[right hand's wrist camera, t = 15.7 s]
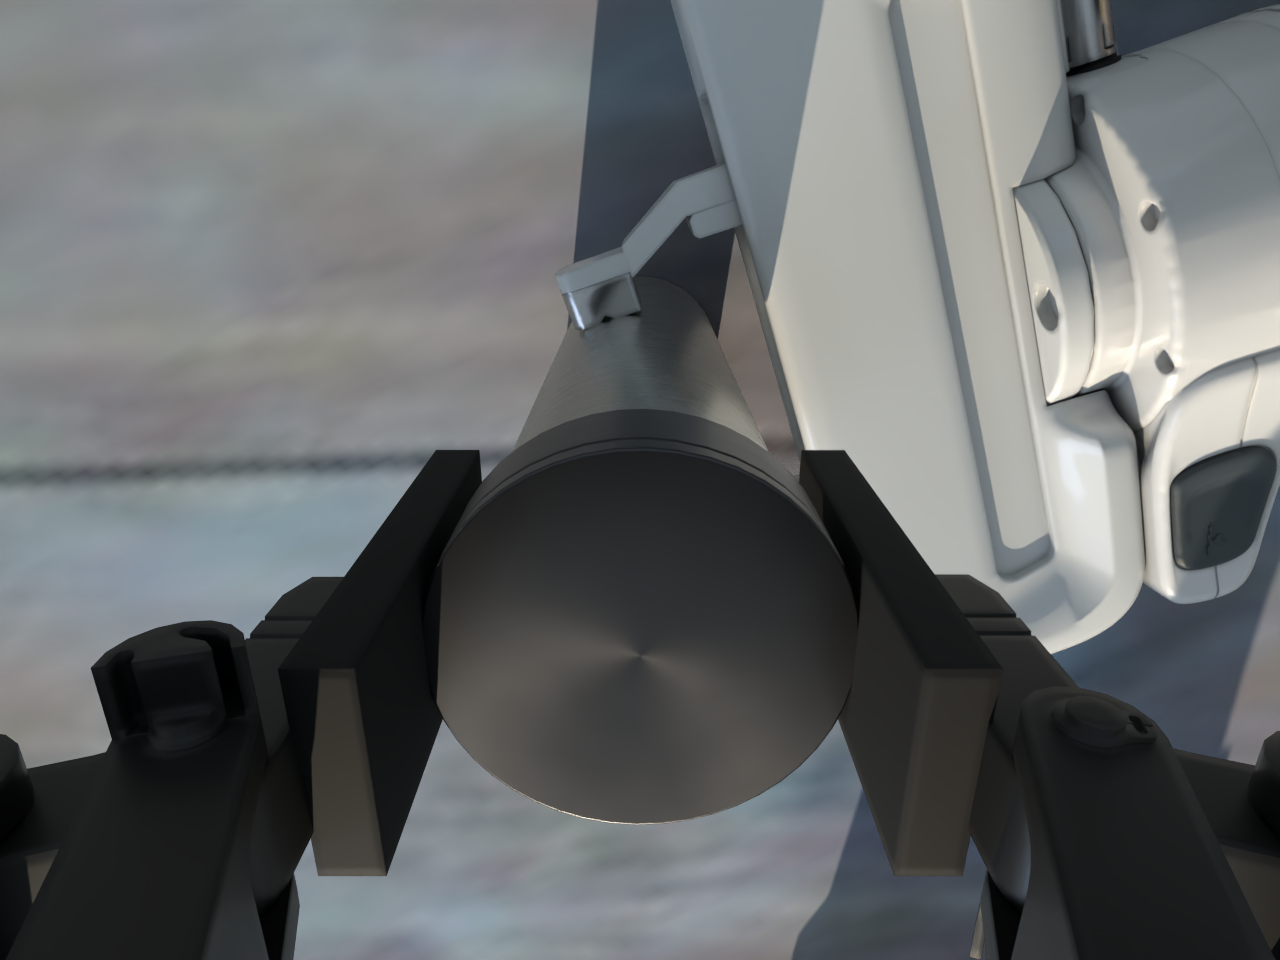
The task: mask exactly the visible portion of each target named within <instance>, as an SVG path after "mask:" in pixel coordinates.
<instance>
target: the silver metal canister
mask: <svg viewBox="0 0 1280 960" xmlns="http://www.w3.org/2000/svg"><path fill="white" fill-rule="evenodd" d="M634 278H635V281H636V285H637V288H638V291H639V294H640V297H641V310H640V311H637V312H634V313H631V314H628V315H625V316H621V317H616V318H612V317H609V316H605V317H604V318H603V320H602V321H601V322H600V323H598V324H596V325H594V326H592V327H590V328H587V329H582V330H575V327H574V325H573V322H572V321H571V323H570V326H569V328H568V330H567V332H566V335H565V337H564V339H563V341H562V343H561V346H560V348H559V350H558V352H557V354H556V357H555V359H554V361H553V363H552V365H551V368H550V370H549V372H548V374H547V376H546V379H545V381H544V383H543V385H542V387H541V390H540V392H539V394H538V396H537V398H536V401H535V403H534V405H533V407H532V409H531V412H530V414H529V416H528V418H527V420H526V423H525V425H524V427H523V429H522V432H521V434H520V436H519V438H518V440H517V443H516V445H515V447H514V449H513V451H514V450H516V449H517V448H518V447H519V446H521V445H523V444H524V443H526V442H527V441H529V440H531V439H532V438H534V437H536V436H537V435H539V434H540V433H542V432H544V431H547V430H549V429H551V428H553V427H556V426H558V425H560V424H562V423H565V422H567V421H571V420H574V419H577V418H581V417H584V416H587V415H591V414H596V413H602V412H608V411H614V410H625V409H655V410H666V411H675V412H680V413H684V414H689V415H693V416H698V417H701V418H704V419H707V420H710V421H713V422H715V423H718V424H721V425H724V426H726V427H728V428H730V429H732V430H734V431H736V432H738V433H740V434H742V435H744V436H746V437H748V438H749V439H751V440H752V441H754V442H755V443H756V444H758V445H759V446H761V447H762V448H764V449H765V450H767V448H766V445H765V443H764V441H763V439H762V437H761V434H760V432H759V430H758V428H757V426H756V423H755V421H754V419H753V417H752V415H751V412H750V410H749V408H748V406H747V404H746V401H745V399H744V397H743V395H742V393H741V390H740V388H739V386H738V384H737V382H736V379H735V377H734V375H733V373H732V370H731V368H730V366H729V364H728V362H727V359H726V357H725V355H724V353H723V351H722V348H721V346H720V344H719V342H718V340H717V337H716V335H715V333H714V331H713V329H712V326H711V324H710V322H709V320H708V318H707V315H706V314H705V312H704V311H703V309H702V307H701V306H700V305H699V304H698V303H697V301H696V300H695V299H694V298H693V297H692V296H691V295H690V294H688V293H687V292H686V291H684V290H683V289H682V288H680V287H678V286H676V285H675V284H673V283H671V282H668V281H665V280H662V279H659V278H654V277H646V276H635V277H634ZM513 451H512V452H513ZM767 451H768V450H767Z"/></svg>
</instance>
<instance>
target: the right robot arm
mask: <svg viewBox="0 0 1280 960" xmlns="http://www.w3.org/2000/svg"><path fill="white" fill-rule="evenodd" d="M481 483H482V478H481V465H480V453H479V450H436V451H435V452H434V454H433V455H432V457H431V458H430V459H429V461H428V462H427V463H426V465H425V466H424V468H423V469H422V470H421V472H420V473H419V475H418V476H417V477H416V479H415V480H414V481H413V483H412V484H411V486H410V487H409V488H408V490H407V491H406V492H405V494H404V495H403V497H402V498H401V499H400V501H399V502H398V503H397V505H396V506H395V508H394V509H393V510H392V512H391V513H390V515H389V516H388V517H387V519H386V520H385V521H384V523H383V524H382V526H381V527H380V528H379V530H378V531H377V532H376V534H375V535H374V537H373V538H372V539H371V541H370V542H369V544H368V545H367V546H366V548H365V549H364V550H363V552H362V553H361V555H360V556H359V557H358V559H357V560H356V561H355V563H354V564H353V566H352V567H351V568H350V570H349V571H348V572H347V574H346V575H345V577H312V578H310V579H308V580H307V581H305V582H303V583H302V584H300V585H299V586H297V587H295V588H294V589H292V590H290V591H289V592H287V593H285V594H284V595H282V597H281V598H280V599H279V600H278V601H277V603H276V604H275V605H274V606H273V607H272V609H271V610H270V611H269V612H268V613H267V615H266V616H265V621H261V622H260V623H259V624H258V625H257V627H256V628H255V629H254V630H253V631H252V632H251V634H250V639H246V640H244V635H243V633H242V632H241V631H240V630H238V629H237V628H235V627H234V626H233V625H231V624H227V623H222V622H216V621H211V620H210V621H189V622H181V623H177V624H172V625H168V626H163V627H158V628H155V629H152V630H150V631H147V632H145V633H142V634H139V635H137V636H134V637H131V638H129V639H127V640H125V641H124V642H122V643H121V644H119V645H117V646H116V647H114V648H112V649H111V650H109V651H107V652H106V653H105V654H104V655H103V656H102V657H101V658H100V659H99V660H98V661H97V662H96V663H95V664H94V665H93V666H92V667H91V670H92V674H93V677H94V680H95V684H96V687H97V691H98V694H99V697H100V701H101V704H102V707H103V711H104V714H105V717H106V721H107V724H108V727H109V731H110V734H111V737H112V741H111V743H110V745H109V747H108V749H107V751H106V752H105V753H101V754H97V755H93V756H88V757H83V758H79V759H74V760H69V761H64V762H59V763H54V764H49V765H44V766H39V767H34V768H29V769H27V768H26V765H25V762H24V760H23V757H22V754H21V751H20V748H19V745H18V744H17V743H16V742H15V741H13V740H12V739H11V738H9V737H8V736H6V735H3V734H0V960H293V957H294V949H295V941H296V932H297V924H298V916H299V907H300V905H299V898H298V891H297V886H296V881H295V876H294V871H295V869H296V867H297V865H298V863H299V861H300V859H301V857H302V855H303V853H304V851H305V849H306V846H307V844H308V842H309V840H310V838H311V841H312V846H313V852H314V857H315V862H316V867H317V872H318V876H387V873H388V870H389V867H390V865H391V862H392V859H393V856H394V853H395V851H396V848H397V845H398V842H399V839H400V837H401V834H402V831H403V828H404V825H405V823H406V820H407V817H408V814H409V812H410V809H411V806H412V803H413V800H414V798H415V795H416V792H417V789H418V786H419V784H420V781H421V778H422V775H423V772H424V770H425V767H426V764H427V761H428V759H429V756H430V753H431V750H432V747H433V745H434V742H435V739H436V736H437V733H438V731H439V728H440V725H441V722H442V719H443V718H442V716H441V714H440V712H439V710H438V708H437V706H436V704H435V702H434V700H433V698H432V694H431V691H430V687H429V680H428V672H427V663H426V655H425V646H424V637H423V628H422V611H423V604H424V598H425V595H426V592H427V589H428V585H429V582H430V579H431V576H432V573H433V571H434V569H435V567H436V565H437V563H438V561H439V559H440V557H441V555H442V553H443V551H444V549H445V547H446V545H447V543H448V541H449V539H450V537H451V535H452V533H453V531H454V529H455V528H456V526H457V524H458V522H459V520H460V518H461V516H462V514H463V512H464V510H465V508H466V506H467V504H468V502H469V501H470V499H471V498H472V496H473V495H474V493H475V492H476V490H477V489H478V487H479V486H480V485H481ZM799 484H800V485H801V486H802V487H803V488H804V490H805V492H806V493H807V495H808V497H809V498H810V500H811V502H812V503H813V505H814V507H815V508H816V510H817V512H818V514H819V516H820V518H821V520H822V522H823V524H824V526H825V527H826V529H827V531H828V533H829V535H830V537H831V539H832V541H833V543H834V545H835V547H836V549H837V551H838V553H839V555H840V557H841V559H842V560H843V563H844V565H845V568H846V570H847V573H848V575H849V577H850V580H851V582H852V585H853V589H854V593H855V597H856V601H857V605H858V609H859V627H858V637H857V646H856V655H855V663H854V672H853V680H852V687H851V691H850V694H849V696H848V699H847V701H846V704H845V707H844V709H843V710H842V712H841V714H840V716H839V717H838V720H839V723H840V726H841V728H842V731H843V734H844V737H845V740H846V742H847V745H848V748H849V751H850V754H851V756H852V759H853V762H854V765H855V767H856V770H857V773H858V776H859V779H860V781H861V784H862V787H863V790H864V793H865V795H866V798H867V801H868V804H869V807H870V809H871V812H872V815H873V818H874V820H875V823H876V826H877V829H878V832H879V834H880V837H881V840H882V843H883V846H884V848H885V851H886V854H887V857H888V860H889V862H890V865H891V868H892V871H893V873H894V876H963V871H964V866H965V861H966V856H967V851H968V846H969V840H970V835H971V837H972V839H973V841H974V843H975V845H976V847H977V849H978V851H979V853H980V855H981V857H982V859H983V861H984V863H985V865H986V867H987V871H986V876H985V881H984V886H983V890H982V895H981V900H980V904H979V909H978V914H977V919H976V923H975V928H974V933H973V938H972V944H971V950H970V957H972V958H976V959H981V955H982V951H983V946H984V942H985V947H986V955H987V960H1280V731H1277V732H1275V733H1274V734H1273V735H1271V736H1270V737H1268V738H1267V739H1266V740H1264V743H1263V746H1262V748H1261V751H1260V754H1259V757H1258V760H1257V763H1256V766H1254V765H1249V764H1244V763H1239V762H1234V761H1230V760H1225V759H1220V758H1215V757H1210V756H1205V755H1200V754H1195V753H1190V752H1186V751H1182V750H1178V749H1174V748H1172V746H1171V744H1170V742H1169V739H1168V738H1167V737H1166V735H1165V734H1164V733H1163V732H1162V730H1161V729H1160V728H1159V727H1158V725H1157V724H1156V723H1155V722H1154V721H1153V720H1152V719H1150V718H1149V717H1147V716H1146V715H1145V714H1143V713H1142V712H1140V711H1139V710H1137V709H1136V708H1135V707H1133V706H1131V705H1129V704H1127V703H1124V702H1122V701H1120V700H1118V699H1115V698H1113V697H1111V696H1109V695H1107V694H1103V693H1099V692H1095V691H1091V690H1087V689H1083V688H1079V687H1078V686H1077V685H1076V684H1075V682H1074V681H1073V680H1072V679H1071V678H1070V676H1069V675H1068V674H1067V673H1066V672H1065V671H1064V669H1063V668H1062V667H1061V666H1060V665H1059V663H1058V662H1057V661H1056V660H1055V659H1054V658H1053V656H1052V655H1051V654H1050V653H1049V652H1048V650H1047V649H1046V648H1045V647H1044V646H1043V645H1042V643H1041V642H1040V641H1039V640H1038V639H1037V637H1036V636H1032V635H1031V630H1030V629H1029V628H1028V627H1027V626H1026V624H1025V623H1024V622H1023V621H1022V620H1021V618H1017V617H1016V613H1015V611H1014V610H1013V609H1012V608H1011V607H1010V605H1009V604H1008V603H1007V602H1006V601H1005V600H1004V598H1003V597H1002V596H1001V595H1000V594H999V592H997V591H995V590H994V589H992V588H990V587H989V586H987V585H985V584H984V583H982V582H980V581H979V580H977V579H975V578H974V577H972V576H971V575H969V574H934V573H933V571H932V570H931V569H930V567H929V566H928V564H927V563H926V562H925V560H924V559H923V557H922V556H921V555H920V553H919V552H918V551H917V549H916V548H915V546H914V545H913V544H912V542H911V541H910V540H909V538H908V537H907V535H906V534H905V533H904V531H903V530H902V529H901V527H900V526H899V524H898V523H897V522H896V520H895V519H894V517H893V516H892V515H891V513H890V512H889V511H888V509H887V508H886V506H885V505H884V504H883V502H882V501H881V500H880V498H879V497H878V495H877V494H876V493H875V491H874V490H873V489H872V487H871V486H870V484H869V483H868V482H867V480H866V479H865V477H864V476H863V475H862V473H861V472H860V471H859V469H858V468H857V466H856V465H855V464H854V462H853V461H852V460H851V458H850V457H849V455H848V454H847V453H846V451H845V450H801V463H800V476H799Z"/></svg>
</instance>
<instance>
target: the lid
mask: <svg viewBox="0 0 1280 960" xmlns="http://www.w3.org/2000/svg"><path fill="white" fill-rule="evenodd" d="M858 627H859V609H858V605H857V601H856V597H855V593H854V589H853V585H852V582H851V580H850V577H849V575H848V573H847V570H846V568H845V565H844V563H843V560H842V559H841V557H840V555H839V553H838V551H837V549H836V547H835V545H834V543H833V541H832V539H831V537H830V535H829V533H828V531H827V529H826V527H825V526H824V524H823V522H822V520H821V518H820V516H819V514H818V512H817V510H816V508H815V507H814V505H813V503H812V502H811V500H810V498H809V497H808V495H807V493H806V492H805V490H804V488H803V487H802V486H801V485H800V484H799V482H798V481H797V480H796V479H795V477H794V476H793V475H792V474H791V472H790V471H789V470H788V469H787V468H786V467H785V466H784V465H783V464H781V463H780V462H779V461H778V460H777V459H776V458H775V457H774V456H773V455H772V454H771V453H769V452H768V451H767V450H765V449H764V448H762V447H761V446H759V445H758V444H756V443H755V442H754V441H752V440H751V439H749V438H748V437H746V436H744V435H742V434H740V433H738V432H736V431H734V430H732V429H730V428H728V427H726V426H724V425H721V424H718V423H715V422H713V421H710V420H707V419H704V418H701V417H698V416H693V415H689V414H684V413H680V412H675V411H666V410H655V409H625V410H614V411H608V412H602V413H596V414H591V415H587V416H584V417H581V418H577V419H574V420H571V421H567V422H565V423H562V424H560V425H558V426H556V427H553V428H551V429H549V430H547V431H544V432H542V433H540V434H539V435H537V436H536V437H534V438H532V439H531V440H529V441H527V442H526V443H524V444H523V445H521V446H519V447H518V448H517V449H516V450H514V451H513V452H512V453H511V454H510V455H508V456H507V457H506V458H505V459H504V460H502V461H501V462H500V463H499V464H498V465H497V466H496V467H495V468H494V469H493V471H492V472H491V473H490V474H489V475H488V476H487V477H486V478H485V479H484V480H483V482H482V483H481V485H480V486H479V487H478V489H477V490H476V492H475V493H474V495H473V496H472V498H471V499H470V501H469V502H468V504H467V506H466V508H465V510H464V512H463V514H462V516H461V518H460V520H459V522H458V524H457V526H456V528H455V529H454V531H453V533H452V535H451V537H450V539H449V541H448V543H447V545H446V547H445V549H444V551H443V553H442V555H441V557H440V559H439V561H438V563H437V565H436V567H435V569H434V571H433V573H432V576H431V579H430V582H429V585H428V589H427V592H426V595H425V598H424V604H423V611H422V628H423V637H424V646H425V655H426V663H427V672H428V680H429V687H430V691H431V694H432V698H433V700H434V702H435V704H436V706H437V708H438V710H439V712H440V714H441V716H442V718H443V720H444V722H445V723H446V725H447V726H448V727H449V729H450V730H451V732H452V733H453V735H454V736H455V738H456V739H457V741H458V742H459V743H460V744H461V745H462V746H463V748H464V749H465V750H466V751H467V752H468V753H469V754H470V756H471V757H472V758H473V759H474V760H475V761H476V762H478V763H479V764H480V765H481V766H482V767H483V768H484V769H486V770H487V771H488V772H489V773H490V774H491V775H492V776H494V777H495V778H497V779H498V780H500V781H501V782H502V783H504V784H505V785H507V786H508V787H510V788H511V789H513V790H514V791H516V792H518V793H520V794H522V795H524V796H526V797H527V798H529V799H531V800H533V801H535V802H537V803H540V804H542V805H545V806H547V807H550V808H552V809H555V810H557V811H560V812H564V813H567V814H571V815H574V816H578V817H581V818H585V819H591V820H597V821H602V822H608V823H620V824H634V825H637V824H663V823H671V822H679V821H686V820H691V819H695V818H699V817H703V816H708V815H712V814H715V813H717V812H720V811H723V810H726V809H729V808H732V807H735V806H737V805H739V804H741V803H743V802H745V801H748V800H750V799H752V798H754V797H756V796H758V795H760V794H761V793H763V792H765V791H766V790H768V789H769V788H771V787H773V786H774V785H776V784H777V783H779V782H781V781H782V780H783V779H784V778H786V777H787V776H788V775H789V774H791V773H792V772H793V771H794V770H796V769H797V768H798V767H799V766H801V765H802V764H803V762H804V761H805V760H806V759H807V758H808V757H809V756H810V755H811V754H812V753H813V752H814V751H815V750H816V749H817V748H818V747H819V746H820V744H821V743H822V742H823V740H824V739H825V738H826V736H827V735H828V734H829V732H830V731H831V730H832V728H833V726H834V725H835V723H836V721H837V719H838V717H839V716H840V714H841V712H842V710H843V709H844V707H845V704H846V701H847V699H848V696H849V694H850V691H851V687H852V680H853V672H854V663H855V655H856V646H857V637H858Z"/></svg>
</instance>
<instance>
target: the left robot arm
mask: <svg viewBox="0 0 1280 960" xmlns="http://www.w3.org/2000/svg"><path fill="white" fill-rule="evenodd" d="M670 1H671V5H672V8H673V12H674V16H675V19H676V23H677V26H678V30H679V34H680V37H681V41H682V44H683V48H684V51H685V55H686V58H687V62H688V66H689V69H690V73H691V76H692V80H693V83H694V87H695V90H696V94H697V98H698V101H699V105H700V108H701V112H702V115H703V119H704V123H705V126H706V130H707V133H708V137H709V140H710V144H711V147H712V151H713V155H714V158H715V162H716V166H713V167H710V168H707V169H705V170H702V171H699V172H696V173H694V174H691V175H688V176H686V177H683V178H680V179H677V180H675V181H673V182H672V183H671V184H670V185H669V187H668V188H667V189H666V190H665V191H664V192H663V194H662V195H661V196H660V197H659V198H658V200H657V201H656V202H655V203H654V204H653V206H652V207H651V208H650V209H649V210H648V212H647V213H646V214H645V215H644V216H643V217H642V219H641V220H640V221H639V222H638V223H637V225H636V226H635V227H634V228H633V229H632V231H631V232H630V233H629V234H628V235H627V236H626V238H625V239H624V240H623V243H622V246H621V247H619V248H616V249H613V250H610V251H607V252H604V253H602V254H599V255H596V256H593V257H590V258H587V259H584V260H582V261H579V262H576V263H573V264H571V265H569V266H567V267H564V268H562V269H560V270H558V272H557V273H556V274H555V277H556V280H557V283H558V286H559V288H560V291H561V293H562V296H563V299H564V301H565V304H566V306H567V309H568V312H569V314H570V317H571V319H572V322H573V325H574V327H575V330H582V329H587V328H590V327H592V326H594V325H596V324H598V323H600V322H601V321H602V320H603V318H604V317H605V316H609V317H612V318H616V317H621V316H625V315H628V314H631V313H634V312H637V311H640V310H641V297H640V294H639V291H638V288H637V285H636V281H635V278H634V276H635V275H636V274H637V273H638V271H639V270H640V269H641V268H642V267H643V266H644V265H645V263H646V262H647V261H648V260H649V259H650V258H651V257H652V255H653V254H654V253H655V252H656V251H657V250H658V248H659V247H660V246H661V245H662V244H663V243H664V242H665V240H666V239H667V238H668V237H669V236H670V235H671V234H672V232H673V231H674V230H675V229H676V228H677V227H678V225H679V224H680V223H681V222H682V221H683V220H684V219H685V217H686V221H687V224H688V228H689V230H690V231H691V232H692V234H693V235H694V236H696V237H698V238H700V239H701V238H704V237H707V236H710V235H713V234H716V233H719V232H722V231H725V230H728V229H731V228H734V229H735V233H736V236H737V240H738V244H739V247H740V251H741V254H742V258H743V261H744V265H745V268H746V272H747V276H748V279H749V283H750V286H751V290H752V293H753V297H754V300H755V304H756V308H757V311H758V315H759V318H760V322H761V325H762V329H763V333H764V336H765V340H766V343H767V347H768V350H769V354H770V357H771V361H772V365H773V368H774V372H775V375H776V379H777V382H778V386H779V389H780V393H781V397H782V400H783V404H784V407H785V411H786V414H787V418H788V422H789V425H790V429H791V432H792V436H793V439H794V443H795V446H796V450H797V454H798V457H799V461H800V463H801V450H845V451H846V453H847V454H848V455H849V457H850V458H851V460H852V461H853V462H854V464H855V465H856V466H857V468H858V469H859V471H860V472H861V473H862V475H863V476H864V477H865V479H866V480H867V482H868V483H869V484H870V486H871V487H872V489H873V490H874V491H875V493H876V494H877V495H878V497H879V498H880V500H881V501H882V502H883V504H884V505H885V506H886V508H887V509H888V511H889V512H890V513H891V515H892V516H893V517H894V519H895V520H896V522H897V523H898V524H899V526H900V527H901V529H902V530H903V531H904V533H905V534H906V535H907V537H908V538H909V540H910V541H911V542H912V544H913V545H914V546H915V548H916V549H917V551H918V552H919V553H920V555H921V556H922V557H923V559H924V560H925V562H926V563H927V564H928V566H929V567H930V569H931V570H932V571H933V573H934V574H969V575H971V576H972V577H974V578H975V579H977V580H979V581H980V582H982V583H984V584H985V585H987V586H989V587H990V588H992V589H994V590H995V591H997V592H999V594H1000V595H1001V596H1002V597H1003V598H1004V600H1005V601H1006V602H1007V603H1008V604H1009V605H1010V607H1011V608H1012V609H1013V610H1014V611H1015V613H1016V617H1017V618H1021V620H1022V621H1023V622H1024V623H1025V624H1026V626H1027V627H1028V628H1029V629H1030V630H1031V635H1032V636H1036V637H1037V639H1038V640H1039V641H1040V642H1041V643H1042V645H1043V646H1044V647H1045V648H1046V649H1047V650H1048V652H1049V653H1050V654H1053V653H1056V652H1059V651H1061V650H1064V649H1067V648H1069V647H1072V646H1074V645H1077V644H1079V643H1082V642H1084V641H1086V640H1088V639H1090V638H1092V637H1094V636H1096V635H1098V634H1100V633H1101V632H1103V631H1104V630H1106V629H1107V628H1109V627H1111V626H1112V625H1113V624H1114V623H1116V622H1117V621H1118V620H1119V619H1120V618H1121V617H1122V616H1123V615H1124V614H1125V613H1126V612H1127V611H1128V610H1129V608H1130V607H1131V606H1132V605H1133V603H1134V601H1135V600H1136V598H1137V596H1138V594H1139V592H1140V589H1141V586H1142V583H1144V584H1145V585H1147V586H1148V587H1150V588H1151V589H1153V590H1154V591H1156V592H1157V593H1159V594H1160V595H1162V596H1163V597H1165V598H1167V599H1168V600H1170V601H1172V602H1174V603H1178V604H1192V603H1198V602H1203V601H1207V600H1211V599H1214V598H1218V597H1221V596H1224V595H1226V594H1229V593H1231V592H1233V591H1234V590H1236V589H1237V588H1239V587H1240V586H1241V585H1242V584H1243V583H1244V582H1245V581H1246V580H1247V578H1248V577H1249V575H1250V573H1251V571H1252V569H1253V567H1254V564H1255V562H1256V559H1257V556H1258V553H1259V549H1260V546H1261V543H1262V539H1263V536H1264V533H1265V529H1266V526H1267V523H1268V520H1269V516H1270V513H1271V510H1272V507H1273V504H1274V501H1275V498H1276V495H1277V492H1278V489H1279V486H1280V4H1278V5H1272V6H1268V7H1264V8H1260V9H1256V10H1253V11H1250V12H1246V13H1243V14H1240V15H1237V16H1235V17H1233V18H1230V19H1227V20H1224V21H1221V22H1219V23H1215V24H1213V25H1210V26H1207V27H1204V28H1201V29H1198V30H1196V31H1193V32H1190V33H1187V34H1184V35H1181V36H1179V37H1176V38H1173V39H1170V40H1167V41H1164V42H1162V43H1159V44H1156V45H1153V46H1150V47H1147V48H1145V49H1142V50H1139V51H1136V52H1133V53H1129V54H1127V55H1124V56H1121V55H1118V56H1117V54H1116V45H1115V35H1114V26H1113V18H1112V8H1111V0H670ZM1066 72H1067V73H1066ZM799 476H800V474H799V475H796V476H794V477H795V479H796V480H797V481H798V482H799Z"/></svg>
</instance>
